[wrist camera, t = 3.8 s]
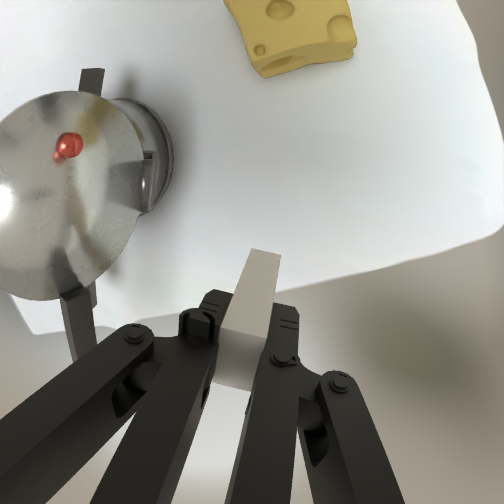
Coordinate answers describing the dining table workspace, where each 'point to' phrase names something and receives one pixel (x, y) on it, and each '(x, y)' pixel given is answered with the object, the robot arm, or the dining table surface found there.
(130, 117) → the pot
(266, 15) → the cheese
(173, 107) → the dining table surface
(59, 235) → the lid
